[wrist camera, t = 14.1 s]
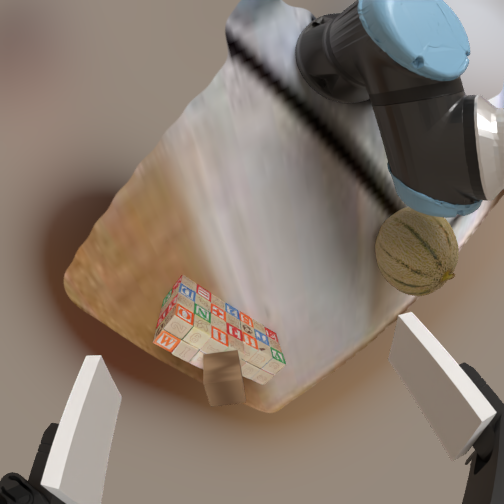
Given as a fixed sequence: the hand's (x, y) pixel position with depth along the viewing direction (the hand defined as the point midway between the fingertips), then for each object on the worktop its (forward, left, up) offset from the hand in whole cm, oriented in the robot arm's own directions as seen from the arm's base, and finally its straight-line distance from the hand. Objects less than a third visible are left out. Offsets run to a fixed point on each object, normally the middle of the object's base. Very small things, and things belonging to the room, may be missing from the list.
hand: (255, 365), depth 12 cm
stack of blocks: (+3, +23, -37) cm, 44 cm away
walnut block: (+3, +23, -25) cm, 34 cm away
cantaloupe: (-30, +11, -37) cm, 49 cm away
